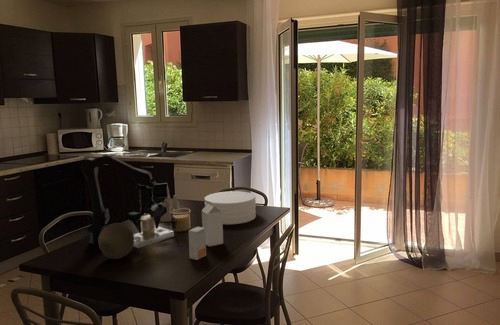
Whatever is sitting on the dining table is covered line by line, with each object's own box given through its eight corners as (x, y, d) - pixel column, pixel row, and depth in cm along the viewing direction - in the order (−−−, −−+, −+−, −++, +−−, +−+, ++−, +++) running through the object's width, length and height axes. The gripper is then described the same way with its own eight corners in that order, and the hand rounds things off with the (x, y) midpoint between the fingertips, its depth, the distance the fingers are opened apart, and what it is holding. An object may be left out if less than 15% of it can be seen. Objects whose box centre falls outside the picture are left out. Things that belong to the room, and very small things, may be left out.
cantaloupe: (97, 257, 166) (94, 222, 164) (131, 250, 173) (128, 217, 171) (102, 268, 154) (99, 231, 152) (139, 260, 161) (136, 225, 158)
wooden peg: (147, 241, 183) (146, 220, 182) (143, 239, 186) (141, 219, 184) (155, 239, 186) (153, 218, 185) (150, 237, 189) (148, 217, 187)
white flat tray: (137, 248, 175) (137, 242, 174) (123, 242, 183) (122, 237, 182) (174, 236, 189) (173, 231, 189) (159, 231, 197) (159, 226, 197)
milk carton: (208, 247, 174) (206, 205, 171) (202, 242, 180) (201, 201, 177) (223, 244, 177) (221, 202, 174) (217, 239, 183) (215, 199, 181)
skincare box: (197, 260, 159) (196, 232, 158) (189, 258, 162) (187, 230, 160) (206, 255, 164) (205, 227, 163) (198, 253, 167) (197, 226, 165)
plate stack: (227, 207, 239) (226, 189, 237) (265, 214, 223) (265, 194, 221) (195, 219, 217) (194, 199, 215) (235, 227, 200) (234, 205, 199)
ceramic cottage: (186, 214, 225) (183, 189, 223) (167, 223, 211) (163, 196, 209) (166, 213, 233) (162, 188, 231) (146, 222, 219) (142, 195, 217)
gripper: (138, 205, 171) (141, 239, 173) (173, 196, 185) (175, 228, 187) (124, 201, 178) (127, 234, 181) (159, 193, 192) (161, 224, 194)
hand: (148, 230), depth 185 cm, fingers open, 9 cm apart
